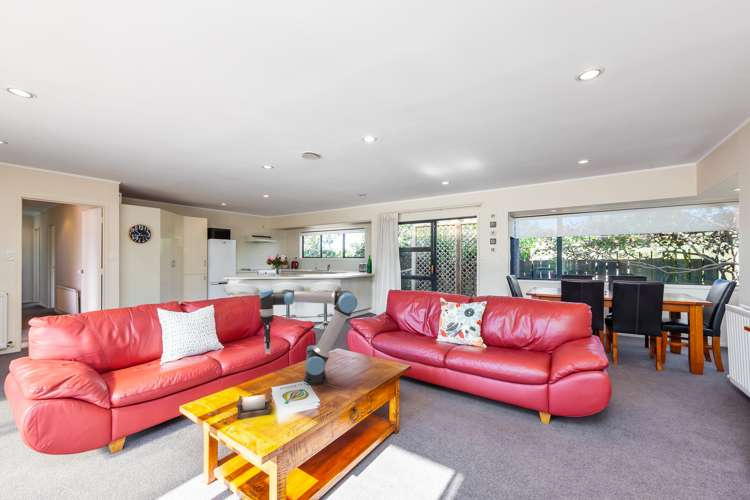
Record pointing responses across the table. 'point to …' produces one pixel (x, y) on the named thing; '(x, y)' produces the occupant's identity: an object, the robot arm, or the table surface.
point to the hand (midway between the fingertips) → (267, 350)
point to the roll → (253, 403)
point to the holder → (254, 412)
